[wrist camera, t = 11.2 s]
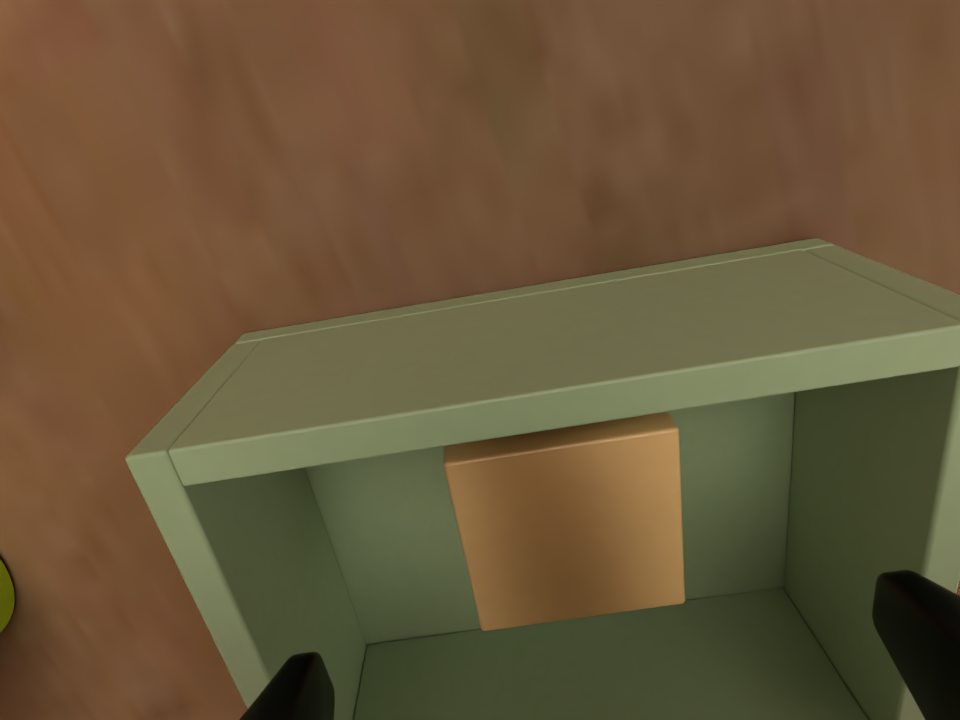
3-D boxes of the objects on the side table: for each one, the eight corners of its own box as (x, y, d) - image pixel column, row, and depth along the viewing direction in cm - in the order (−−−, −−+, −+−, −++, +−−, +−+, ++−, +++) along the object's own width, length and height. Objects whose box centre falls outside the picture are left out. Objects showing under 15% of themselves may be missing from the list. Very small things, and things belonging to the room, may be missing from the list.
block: (622, 338, 13) (680, 427, 10) (632, 481, 15) (686, 605, 11) (449, 366, 14) (442, 464, 10) (478, 504, 15) (481, 633, 12)
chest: (242, 332, 14) (122, 458, 9) (818, 236, 13) (1020, 316, 8) (353, 643, 18) (311, 842, 13) (794, 582, 17) (920, 768, 13)
